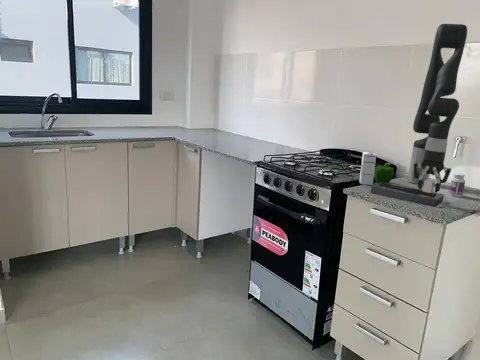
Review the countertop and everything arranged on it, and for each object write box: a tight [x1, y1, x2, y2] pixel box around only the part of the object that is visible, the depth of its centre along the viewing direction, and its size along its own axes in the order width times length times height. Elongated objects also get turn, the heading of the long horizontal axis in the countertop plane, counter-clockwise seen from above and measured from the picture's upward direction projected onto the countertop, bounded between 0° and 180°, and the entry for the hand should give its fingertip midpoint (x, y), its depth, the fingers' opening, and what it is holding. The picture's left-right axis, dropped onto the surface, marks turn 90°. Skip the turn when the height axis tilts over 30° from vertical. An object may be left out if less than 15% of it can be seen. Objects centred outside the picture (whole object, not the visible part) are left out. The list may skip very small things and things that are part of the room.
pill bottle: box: [448, 172, 466, 198], centre depth 171 cm, size 5×5×10 cm
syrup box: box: [358, 151, 377, 186], centre depth 182 cm, size 6×6×14 cm
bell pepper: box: [374, 162, 395, 184], centre depth 186 cm, size 8×8×10 cm
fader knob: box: [422, 178, 436, 194], centre depth 158 cm, size 4×3×5 cm
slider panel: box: [370, 182, 445, 208], centre depth 164 cm, size 12×26×4 cm, turn 51°
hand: (428, 190), depth 159 cm, fingers open, 5 cm apart
